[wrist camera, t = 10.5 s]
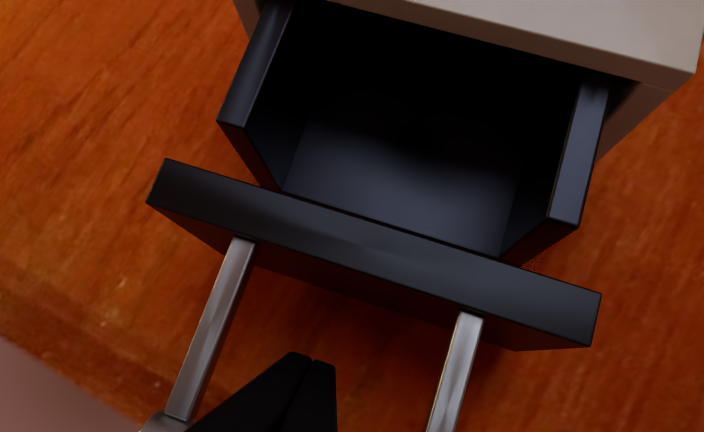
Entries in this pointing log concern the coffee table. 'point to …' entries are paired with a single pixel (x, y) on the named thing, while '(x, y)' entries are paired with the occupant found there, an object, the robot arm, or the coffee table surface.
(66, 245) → the coffee table surface
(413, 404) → the coffee table surface
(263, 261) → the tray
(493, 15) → the grey drawer unit
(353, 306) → the coffee table surface
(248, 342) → the coffee table surface
